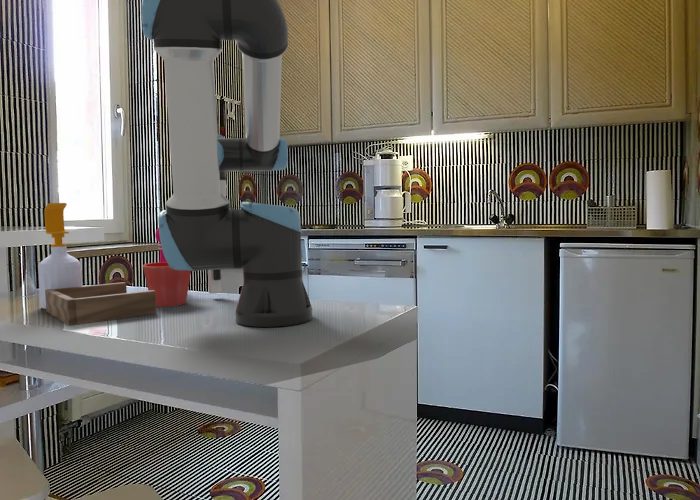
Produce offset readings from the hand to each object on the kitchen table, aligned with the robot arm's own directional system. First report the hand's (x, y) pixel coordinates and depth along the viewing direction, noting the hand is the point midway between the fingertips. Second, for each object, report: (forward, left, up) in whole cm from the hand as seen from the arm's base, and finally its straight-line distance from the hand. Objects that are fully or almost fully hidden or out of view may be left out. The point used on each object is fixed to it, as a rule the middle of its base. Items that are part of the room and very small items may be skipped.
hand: (215, 292), depth 148 cm
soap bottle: (+16, +32, -2) cm, 36 cm away
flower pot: (0, +12, -2) cm, 12 cm away
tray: (0, +27, -1) cm, 27 cm away
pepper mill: (+15, +6, -2) cm, 16 cm away
